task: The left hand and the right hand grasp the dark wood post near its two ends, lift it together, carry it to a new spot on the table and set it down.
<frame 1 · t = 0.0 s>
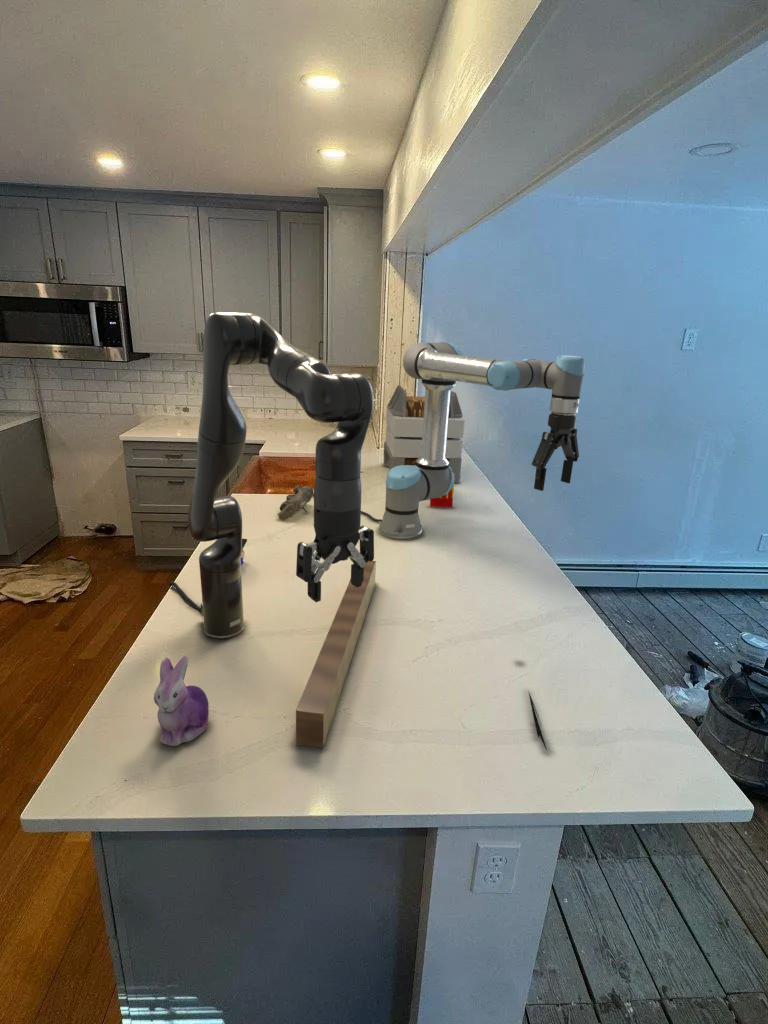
left hand: (336, 592, 96), 29 cm above the counter, tool pointing down, fingers open, 8 cm apart
right hand: (552, 485, 166), 28 cm above the counter, tool pointing down, fingers open, 13 cm apart
fossil: (296, 512, 216), on the counter
post: (344, 646, 132), on the counter
feather: (530, 703, 116), on the counter
figurine character: (232, 569, 168), on the counter
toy: (436, 497, 241), on the counter
white wooden crate: (419, 473, 275), on the counter
figurine: (184, 730, 104), on the counter
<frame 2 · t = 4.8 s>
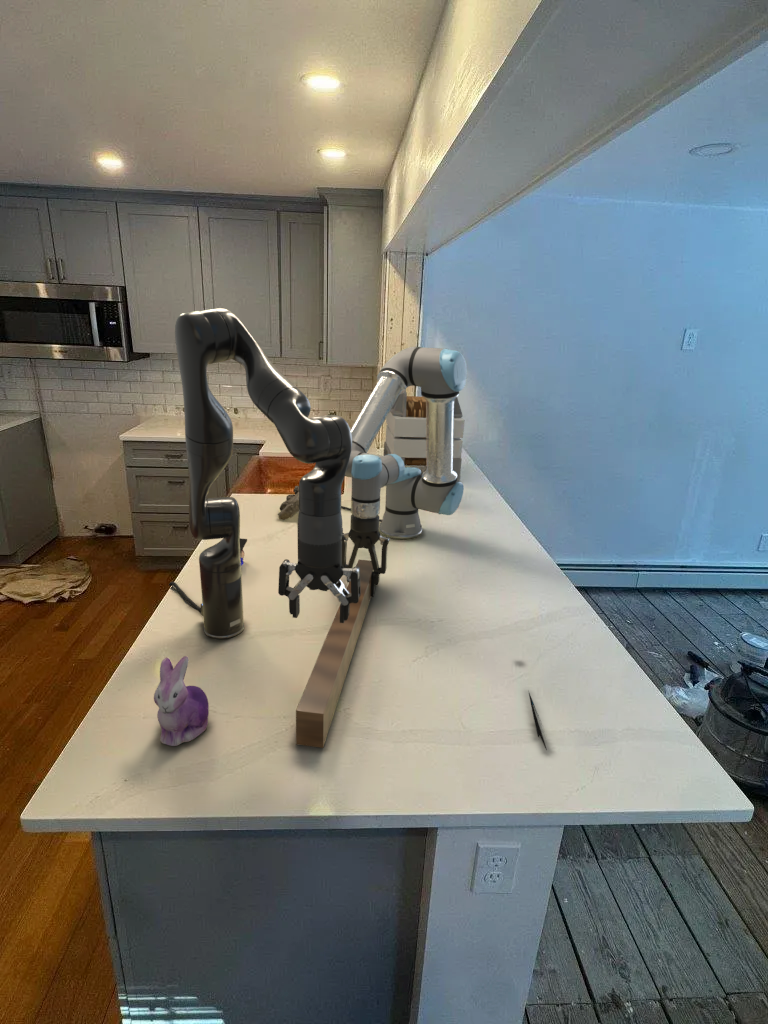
left hand: (319, 618, 101), 22 cm above the counter, tool pointing down, fingers open, 8 cm apart
right hand: (362, 593, 156), 1 cm above the counter, tool pointing down, fingers closed on post, 5 cm apart
post: (344, 646, 132), on the counter, touching right hand
everything else where it was.
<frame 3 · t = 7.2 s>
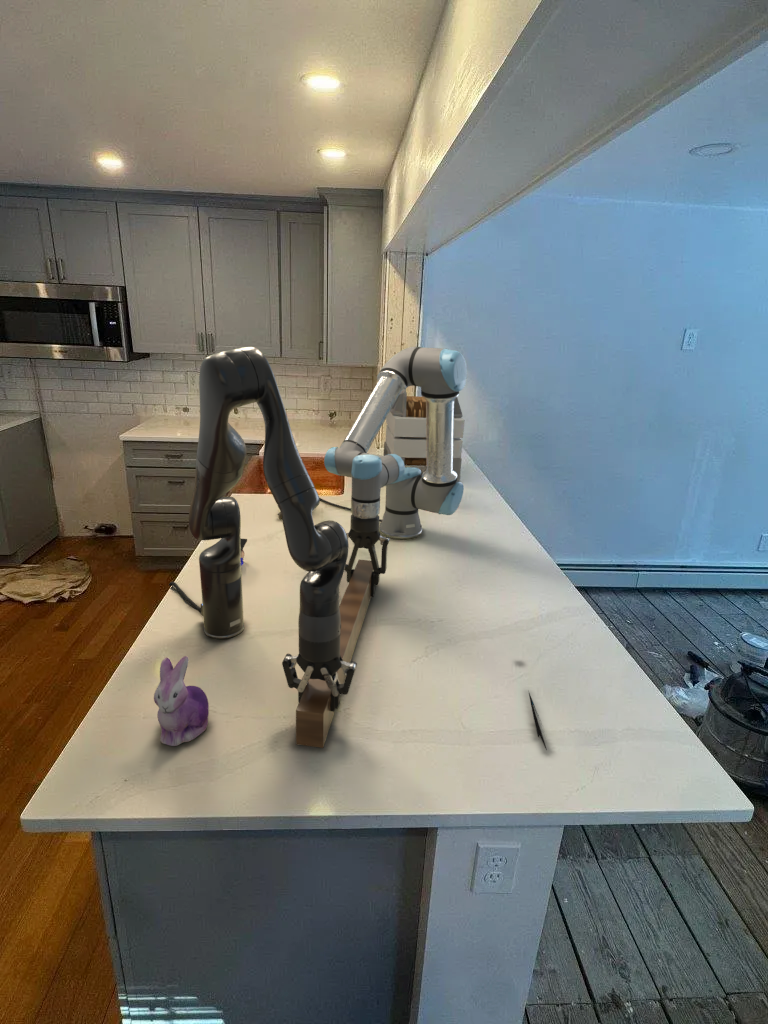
left hand: (319, 706, 108), 3 cm above the counter, tool pointing down, fingers closed on post, 5 cm apart
right hand: (362, 593, 156), 1 cm above the counter, tool pointing down, fingers closed on post, 5 cm apart
post: (344, 646, 132), on the counter, touching right hand, left hand
everything else where it was.
when the right hand's fingers open (2 cm above the counter, at t = 14.3 s): post drops 2 cm, on the counter.
when the left hand's fingers open (4 cm above the counter, at t = 14.5 s): post stays where it is, on the counter.
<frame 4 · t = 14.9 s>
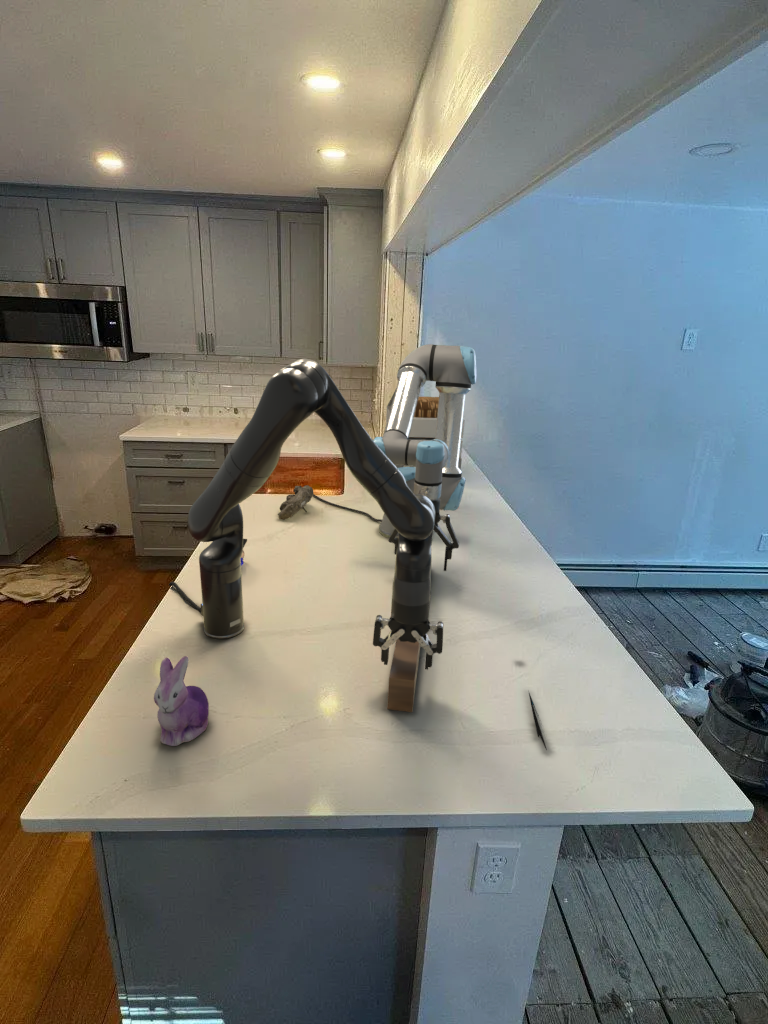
left hand: (406, 665, 117), 5 cm above the counter, tool pointing down, fingers open, 8 cm apart
right hand: (422, 566, 165), 4 cm above the counter, tool pointing down, fingers open, 13 cm apart
post: (413, 625, 142), on the counter
everything else where it was.
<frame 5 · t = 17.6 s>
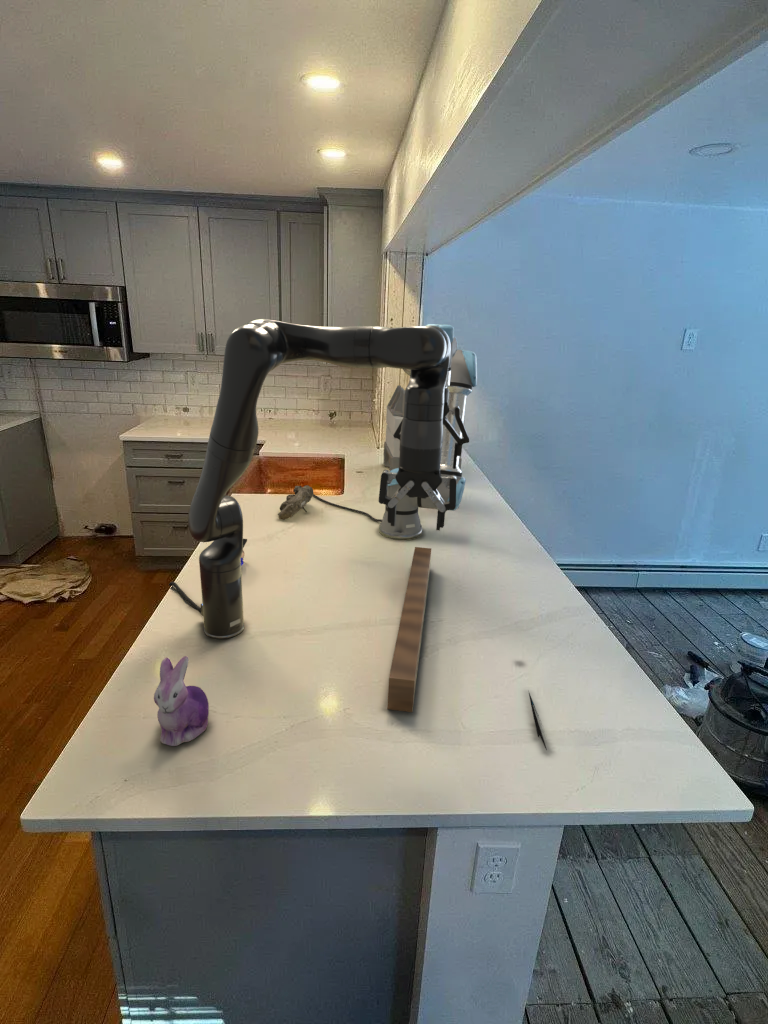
left hand: (415, 527, 107), 36 cm above the counter, tool pointing down, fingers open, 8 cm apart
right hand: (429, 465, 155), 35 cm above the counter, tool pointing down, fingers open, 13 cm apart
nothing on the counter moved.
at the end: post inside the target area (0.5 cm from its centre), on the counter; post tilted 0°; post never tilted more than 2° during the clip; both hands held the post at the same time; the left hand is holding nothing; the right hand is holding nothing; post at rest at the end (0.0 cm/s) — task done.
